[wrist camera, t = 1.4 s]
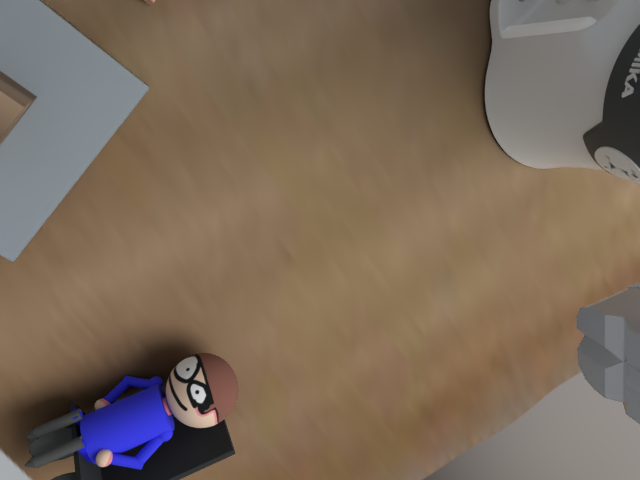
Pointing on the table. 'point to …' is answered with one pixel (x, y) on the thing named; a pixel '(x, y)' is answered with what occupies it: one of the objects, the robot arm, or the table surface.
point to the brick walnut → (12, 104)
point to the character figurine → (146, 427)
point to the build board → (53, 114)
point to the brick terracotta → (149, 2)
